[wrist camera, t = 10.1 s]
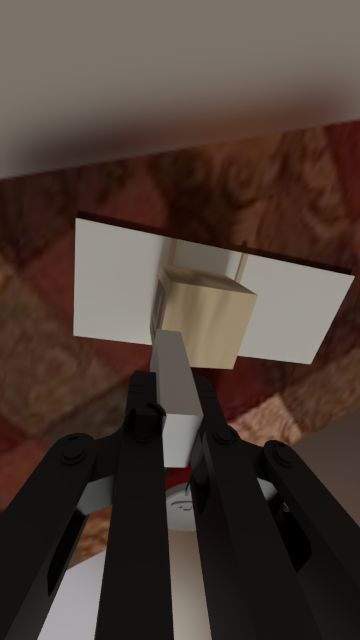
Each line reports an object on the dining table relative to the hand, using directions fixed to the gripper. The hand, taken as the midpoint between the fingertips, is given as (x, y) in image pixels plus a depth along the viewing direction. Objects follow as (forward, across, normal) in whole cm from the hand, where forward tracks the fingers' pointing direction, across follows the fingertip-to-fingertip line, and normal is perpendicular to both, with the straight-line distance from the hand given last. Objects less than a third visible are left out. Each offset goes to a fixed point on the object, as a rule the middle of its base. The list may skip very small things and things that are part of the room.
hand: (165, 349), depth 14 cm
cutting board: (+11, +6, 0) cm, 13 cm away
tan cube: (+7, 0, 0) cm, 7 cm away
